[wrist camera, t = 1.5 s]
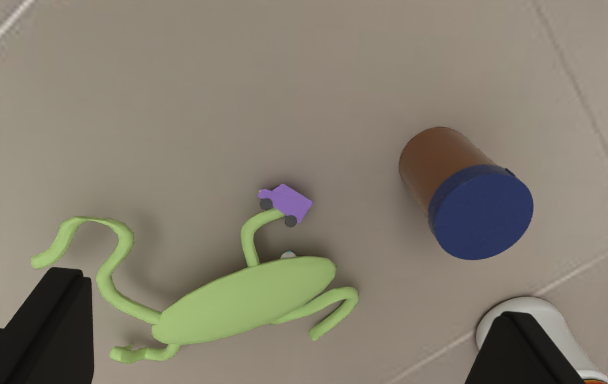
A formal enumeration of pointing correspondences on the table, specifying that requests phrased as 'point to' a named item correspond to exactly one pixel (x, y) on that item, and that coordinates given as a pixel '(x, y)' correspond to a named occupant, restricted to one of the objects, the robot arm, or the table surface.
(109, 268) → the figurine
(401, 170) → the jam jar
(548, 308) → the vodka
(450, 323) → the table surface
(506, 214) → the jar lid
